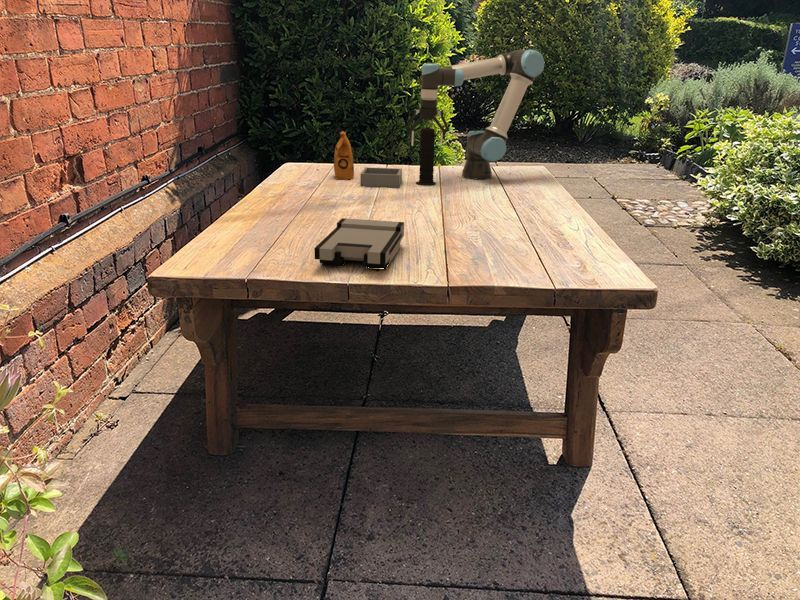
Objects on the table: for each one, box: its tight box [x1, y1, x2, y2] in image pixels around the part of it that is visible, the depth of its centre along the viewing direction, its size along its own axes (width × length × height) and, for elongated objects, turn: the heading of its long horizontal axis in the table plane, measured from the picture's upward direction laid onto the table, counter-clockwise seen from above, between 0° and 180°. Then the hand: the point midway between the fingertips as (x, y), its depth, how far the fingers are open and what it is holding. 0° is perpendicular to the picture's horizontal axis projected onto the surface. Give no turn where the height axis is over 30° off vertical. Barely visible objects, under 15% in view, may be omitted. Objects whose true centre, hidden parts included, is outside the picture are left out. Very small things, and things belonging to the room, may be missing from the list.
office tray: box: [314, 217, 405, 270], centre depth 208 cm, size 21×32×8 cm, turn 170°
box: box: [359, 167, 403, 189], centre depth 321 cm, size 18×18×6 cm
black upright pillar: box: [415, 126, 437, 187], centre depth 319 cm, size 10×26×10 cm
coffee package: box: [333, 130, 355, 180], centre depth 330 cm, size 10×12×22 cm
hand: (426, 146), depth 318 cm, fingers open, 13 cm apart
